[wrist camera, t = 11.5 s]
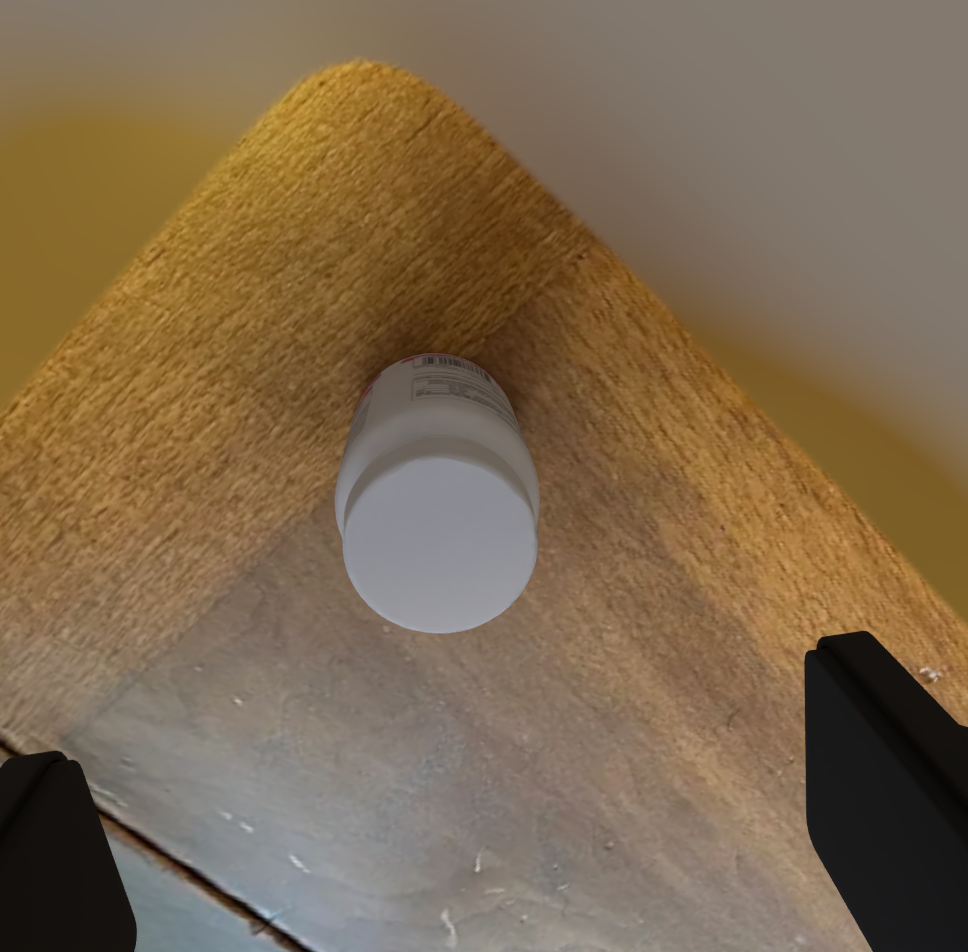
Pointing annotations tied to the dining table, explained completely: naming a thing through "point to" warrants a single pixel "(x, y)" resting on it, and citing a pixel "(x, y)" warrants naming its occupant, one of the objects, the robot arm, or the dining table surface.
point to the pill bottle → (437, 496)
